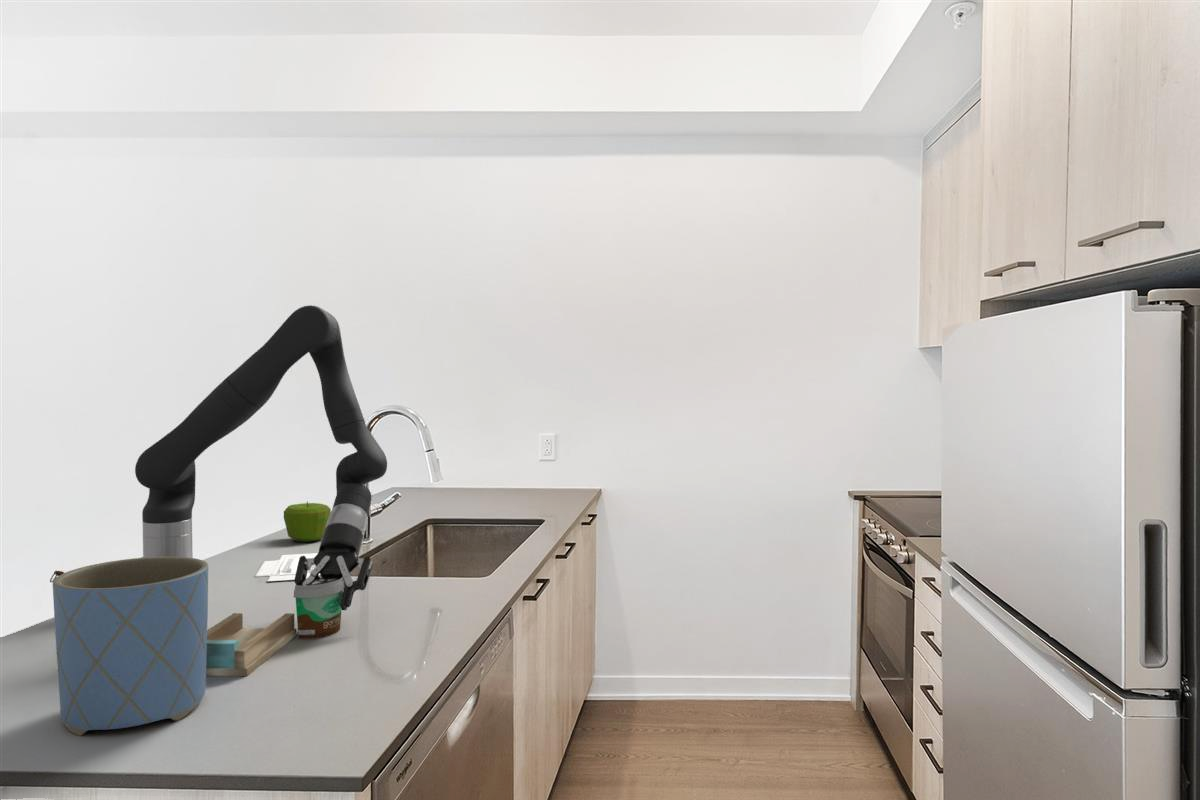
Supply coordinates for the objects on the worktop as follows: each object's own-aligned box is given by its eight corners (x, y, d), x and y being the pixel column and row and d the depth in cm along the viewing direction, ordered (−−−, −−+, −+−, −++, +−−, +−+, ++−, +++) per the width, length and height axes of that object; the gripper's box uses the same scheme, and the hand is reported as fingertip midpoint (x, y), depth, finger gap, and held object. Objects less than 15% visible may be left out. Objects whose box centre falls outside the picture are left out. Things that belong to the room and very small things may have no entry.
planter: (40, 751, 101) (36, 595, 101) (71, 696, 119) (68, 563, 118) (206, 725, 109) (204, 580, 108) (213, 676, 126) (211, 551, 126)
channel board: (172, 675, 127) (171, 643, 127) (231, 634, 147) (231, 606, 147) (247, 676, 127) (246, 643, 127) (296, 635, 147) (296, 607, 146)
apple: (275, 543, 226) (275, 504, 226) (299, 535, 238) (298, 497, 238) (316, 545, 224) (316, 505, 224) (338, 536, 236) (337, 498, 236)
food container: (324, 643, 142) (324, 588, 142) (293, 641, 143) (293, 586, 143) (359, 622, 154) (358, 571, 154) (330, 620, 155) (329, 569, 155)
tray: (251, 586, 183) (251, 570, 183) (267, 563, 210) (267, 549, 210) (344, 580, 188) (344, 564, 188) (348, 558, 215) (348, 545, 215)
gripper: (303, 521, 156) (278, 597, 144) (376, 521, 155) (357, 598, 144) (313, 542, 161) (290, 617, 150) (384, 542, 161) (366, 618, 149)
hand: (323, 607), depth 147 cm, fingers closed on food container, 6 cm apart
